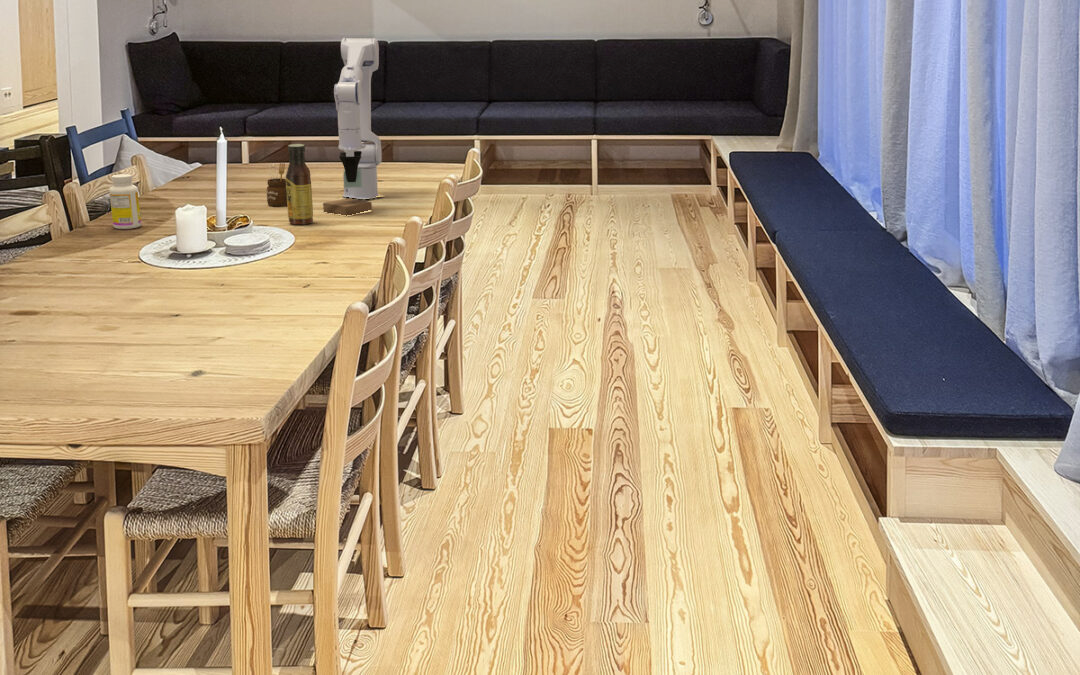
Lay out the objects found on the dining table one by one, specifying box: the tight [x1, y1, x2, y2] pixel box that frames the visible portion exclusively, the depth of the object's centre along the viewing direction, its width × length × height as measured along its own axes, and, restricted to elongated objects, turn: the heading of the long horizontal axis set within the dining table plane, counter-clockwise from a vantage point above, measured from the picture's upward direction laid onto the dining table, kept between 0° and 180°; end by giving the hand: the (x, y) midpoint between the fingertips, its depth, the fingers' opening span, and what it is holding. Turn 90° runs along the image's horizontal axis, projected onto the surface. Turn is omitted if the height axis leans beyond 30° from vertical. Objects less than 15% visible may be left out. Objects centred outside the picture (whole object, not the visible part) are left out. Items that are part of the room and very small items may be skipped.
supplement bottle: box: [108, 173, 142, 230], centre depth 274 cm, size 7×7×13 cm
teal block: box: [343, 169, 362, 189], centre depth 294 cm, size 4×4×4 cm
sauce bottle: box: [285, 143, 314, 226], centre depth 279 cm, size 6×6×20 cm
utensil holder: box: [266, 162, 287, 208], centre depth 303 cm, size 6×6×12 cm
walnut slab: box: [322, 198, 373, 217], centre depth 296 cm, size 9×9×3 cm
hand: (351, 180), depth 294 cm, fingers closed on teal block, 4 cm apart
